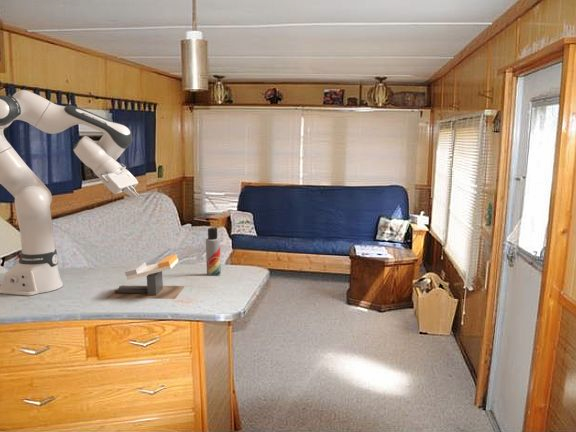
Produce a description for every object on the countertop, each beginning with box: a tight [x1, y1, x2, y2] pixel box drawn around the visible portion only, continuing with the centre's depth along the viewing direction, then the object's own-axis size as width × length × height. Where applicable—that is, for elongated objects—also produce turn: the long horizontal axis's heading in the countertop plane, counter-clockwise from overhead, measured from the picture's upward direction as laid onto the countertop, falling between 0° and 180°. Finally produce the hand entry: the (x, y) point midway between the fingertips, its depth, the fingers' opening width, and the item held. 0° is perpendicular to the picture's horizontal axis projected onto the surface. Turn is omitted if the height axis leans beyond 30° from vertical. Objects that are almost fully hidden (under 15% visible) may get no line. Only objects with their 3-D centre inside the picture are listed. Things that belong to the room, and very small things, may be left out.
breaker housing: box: [146, 271, 164, 296], centre depth 175 cm, size 3×8×7 cm, turn 178°
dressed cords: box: [114, 285, 148, 294], centre depth 175 cm, size 12×5×1 cm, turn 87°
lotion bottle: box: [205, 226, 222, 277], centre depth 199 cm, size 6×6×20 cm
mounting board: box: [106, 284, 186, 300], centre depth 175 cm, size 24×14×2 cm, turn 87°
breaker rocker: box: [124, 253, 179, 281], centre depth 174 cm, size 16×10×3 cm, turn 87°
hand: (136, 196), depth 188 cm, fingers closed
